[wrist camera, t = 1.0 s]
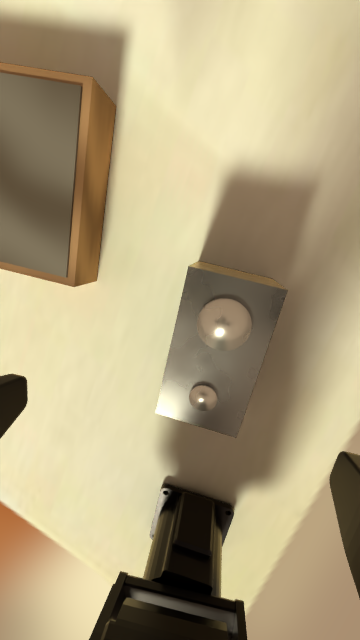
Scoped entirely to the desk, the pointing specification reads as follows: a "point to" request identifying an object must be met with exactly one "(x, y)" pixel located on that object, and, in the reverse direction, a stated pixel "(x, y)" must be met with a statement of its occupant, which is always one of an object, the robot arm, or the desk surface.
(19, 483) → the desk surface
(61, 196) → the stand
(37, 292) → the desk surface
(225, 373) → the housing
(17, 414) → the robot arm
